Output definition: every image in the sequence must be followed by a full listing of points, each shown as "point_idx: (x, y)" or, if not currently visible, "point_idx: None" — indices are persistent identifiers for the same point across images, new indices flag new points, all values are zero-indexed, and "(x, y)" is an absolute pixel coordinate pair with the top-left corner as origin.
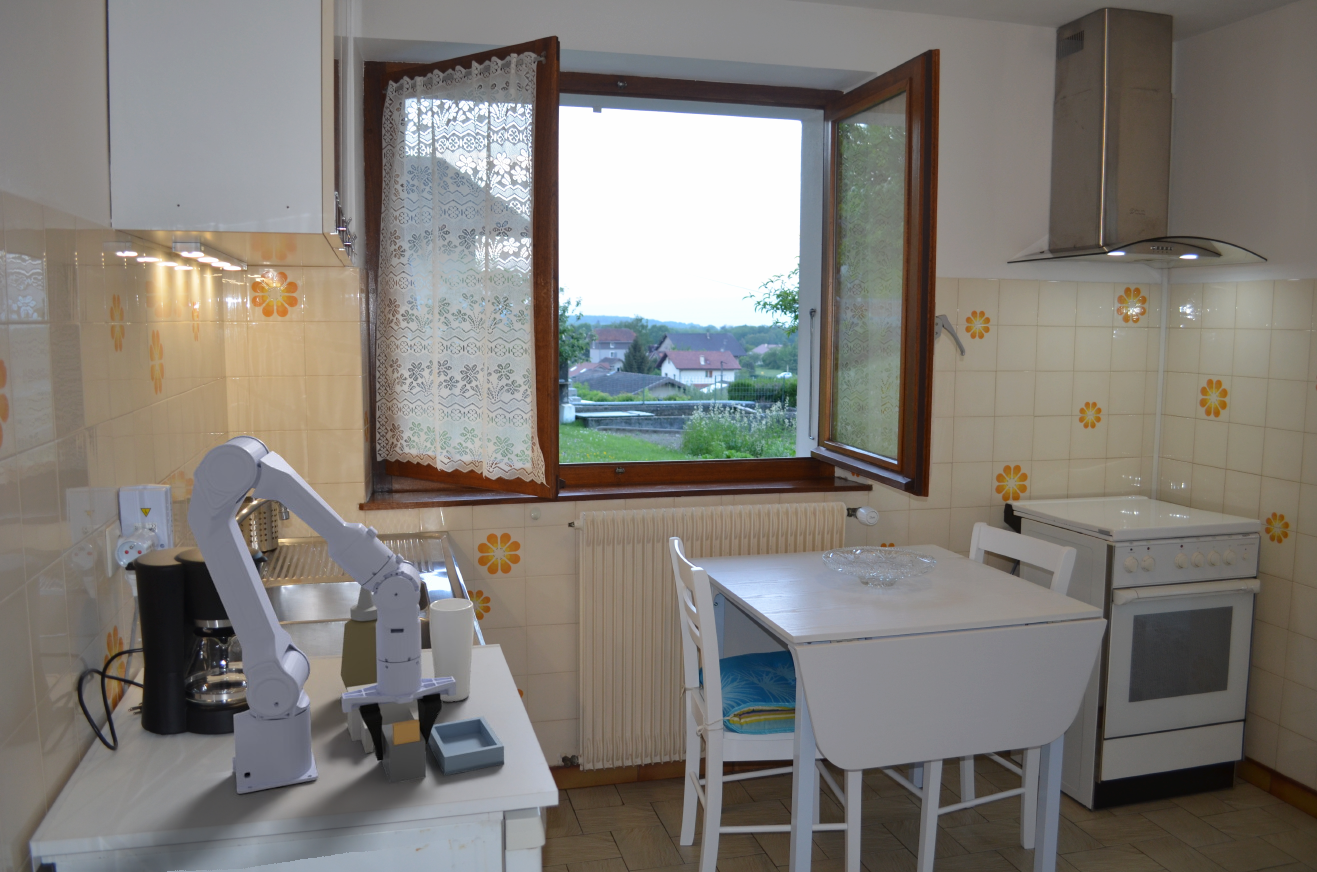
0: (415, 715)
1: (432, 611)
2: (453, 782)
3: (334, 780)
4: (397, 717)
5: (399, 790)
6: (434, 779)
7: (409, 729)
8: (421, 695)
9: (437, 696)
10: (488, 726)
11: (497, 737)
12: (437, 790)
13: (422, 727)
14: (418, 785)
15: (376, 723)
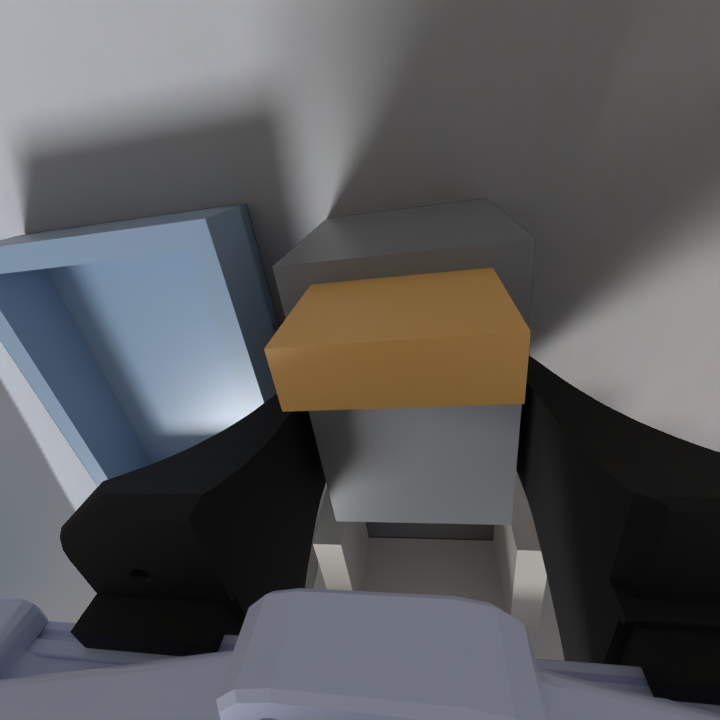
0: (338, 570)
1: None
2: (202, 116)
3: (713, 308)
4: (400, 589)
5: (458, 104)
6: (290, 178)
7: (368, 318)
8: (160, 668)
9: (101, 616)
10: (73, 441)
11: (6, 345)
12: (272, 40)
13: (296, 440)
14: (363, 135)
15: (652, 462)
